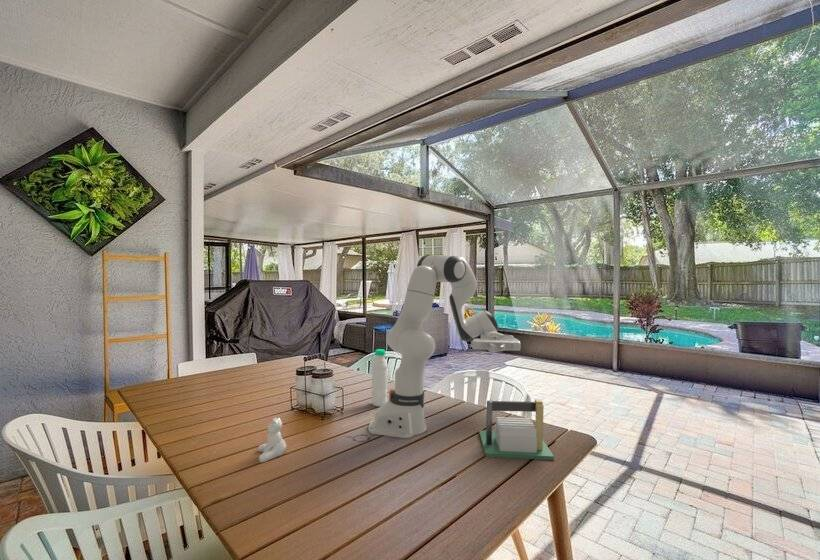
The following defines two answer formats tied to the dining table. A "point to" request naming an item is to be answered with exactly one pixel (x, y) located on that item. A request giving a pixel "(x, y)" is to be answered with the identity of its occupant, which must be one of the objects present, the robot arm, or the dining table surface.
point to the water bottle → (379, 379)
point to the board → (504, 454)
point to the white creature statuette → (273, 442)
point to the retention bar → (504, 407)
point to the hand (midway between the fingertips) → (498, 348)
